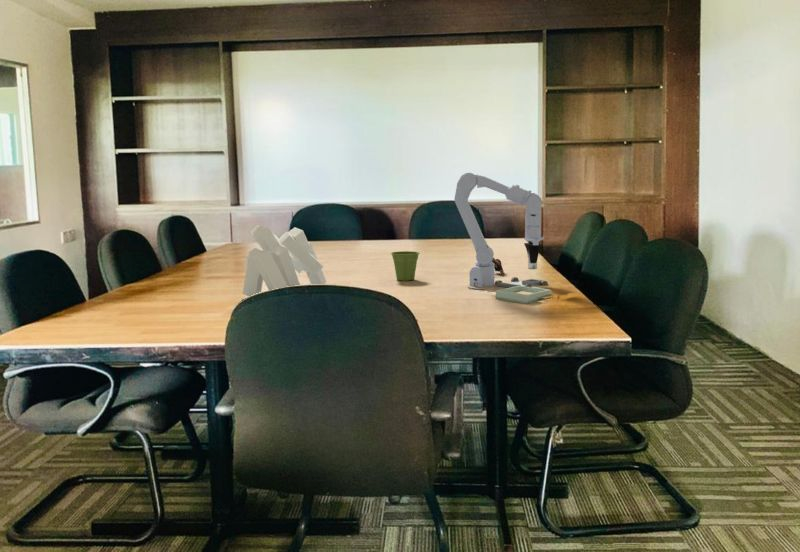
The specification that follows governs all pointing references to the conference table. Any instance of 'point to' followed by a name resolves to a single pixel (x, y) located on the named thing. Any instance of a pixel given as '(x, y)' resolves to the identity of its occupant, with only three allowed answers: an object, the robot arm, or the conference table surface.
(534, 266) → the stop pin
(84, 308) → the conference table surface
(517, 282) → the trolley deck
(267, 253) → the pile of blocks
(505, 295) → the tray
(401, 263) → the plant pot
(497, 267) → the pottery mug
